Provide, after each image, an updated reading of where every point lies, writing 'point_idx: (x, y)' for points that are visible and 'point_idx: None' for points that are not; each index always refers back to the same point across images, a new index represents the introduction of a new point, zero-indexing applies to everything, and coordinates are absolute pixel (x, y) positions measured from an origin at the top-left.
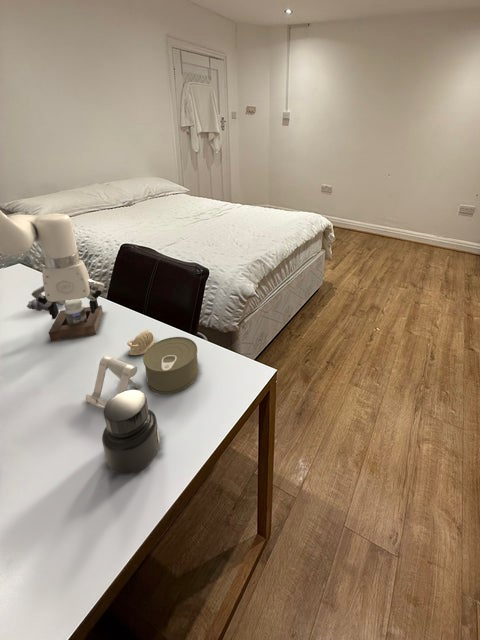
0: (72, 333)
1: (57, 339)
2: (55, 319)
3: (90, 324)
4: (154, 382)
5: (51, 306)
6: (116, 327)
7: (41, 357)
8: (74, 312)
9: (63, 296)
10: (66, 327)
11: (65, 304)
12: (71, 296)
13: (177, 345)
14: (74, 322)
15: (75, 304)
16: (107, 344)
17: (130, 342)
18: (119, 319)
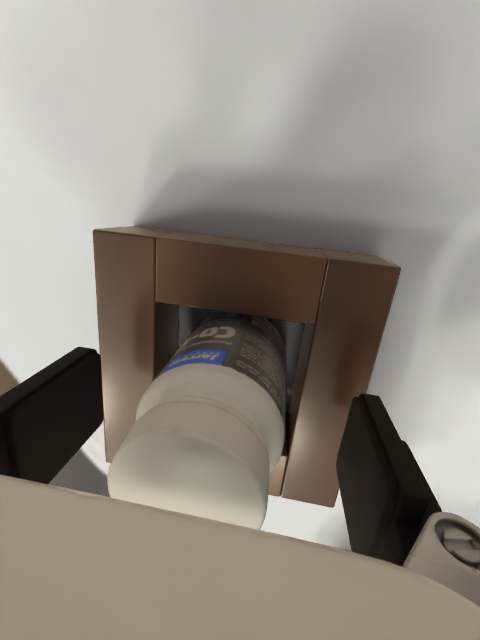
0: (246, 243)
1: (339, 252)
2: None
3: (120, 256)
4: None
5: (406, 507)
6: (37, 255)
7: (430, 71)
8: (194, 372)
9: (170, 635)
10: (277, 285)
11: (252, 484)
12: (20, 560)
13: None
14: (230, 329)
15: (144, 439)
16: (42, 71)
17: None
18: (41, 331)
